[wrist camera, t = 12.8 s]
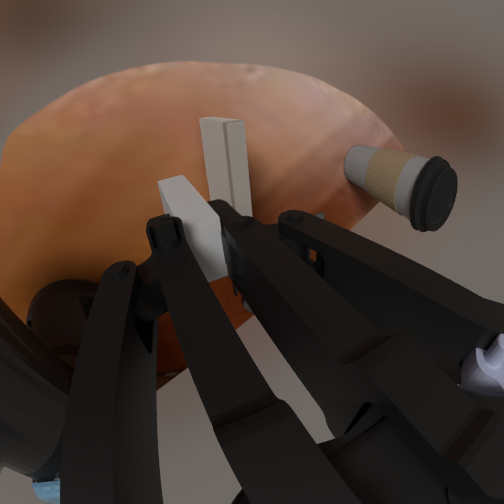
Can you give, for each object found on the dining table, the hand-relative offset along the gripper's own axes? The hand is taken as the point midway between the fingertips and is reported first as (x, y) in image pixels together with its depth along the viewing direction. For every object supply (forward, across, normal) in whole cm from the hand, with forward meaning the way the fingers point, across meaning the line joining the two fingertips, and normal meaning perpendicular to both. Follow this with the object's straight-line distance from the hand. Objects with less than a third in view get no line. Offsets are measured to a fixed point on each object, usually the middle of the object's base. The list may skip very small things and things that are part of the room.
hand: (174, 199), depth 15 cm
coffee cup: (+13, +28, -5) cm, 31 cm away
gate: (+12, +6, -4) cm, 13 cm away
